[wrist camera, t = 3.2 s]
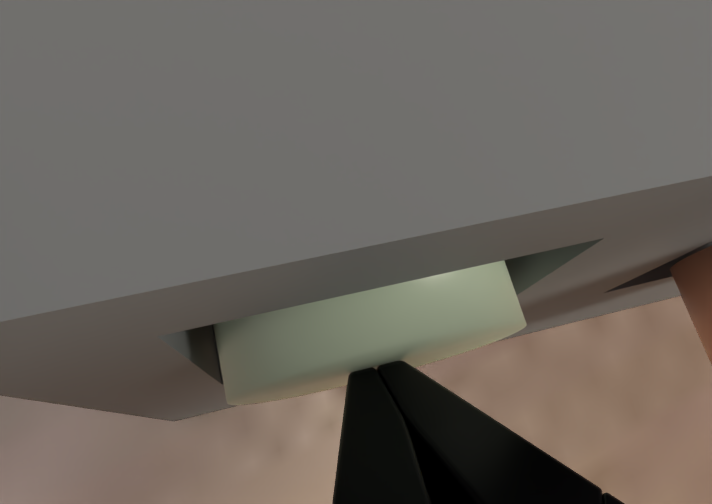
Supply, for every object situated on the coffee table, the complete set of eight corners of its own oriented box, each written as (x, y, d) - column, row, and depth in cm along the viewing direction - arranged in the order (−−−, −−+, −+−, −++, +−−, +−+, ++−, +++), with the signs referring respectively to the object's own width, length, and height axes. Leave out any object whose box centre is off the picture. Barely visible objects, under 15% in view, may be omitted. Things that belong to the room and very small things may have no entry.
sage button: (471, 354, 10) (586, 298, 6) (242, 411, 10) (202, 391, 6) (433, 235, 11) (515, 115, 7) (218, 279, 10) (167, 173, 6)
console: (702, 290, 18) (1398, 34, 7) (174, 421, 15) (-210, 365, 4) (652, 182, 19) (1172, -191, 8) (154, 283, 16) (-180, -84, 5)
